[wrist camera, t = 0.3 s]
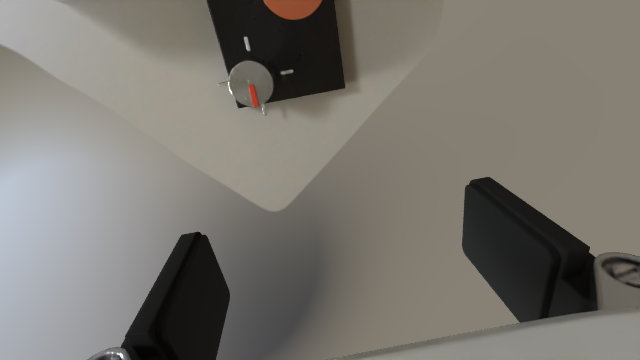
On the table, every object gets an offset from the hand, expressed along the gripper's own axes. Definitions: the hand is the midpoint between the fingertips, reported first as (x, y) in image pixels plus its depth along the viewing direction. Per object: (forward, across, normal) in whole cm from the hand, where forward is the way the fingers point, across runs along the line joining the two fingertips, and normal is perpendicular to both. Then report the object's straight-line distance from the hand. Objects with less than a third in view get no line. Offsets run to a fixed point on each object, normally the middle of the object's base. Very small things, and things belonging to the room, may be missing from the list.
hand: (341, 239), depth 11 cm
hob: (+30, +2, -8) cm, 31 cm away
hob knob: (+28, +5, -3) cm, 28 cm away
